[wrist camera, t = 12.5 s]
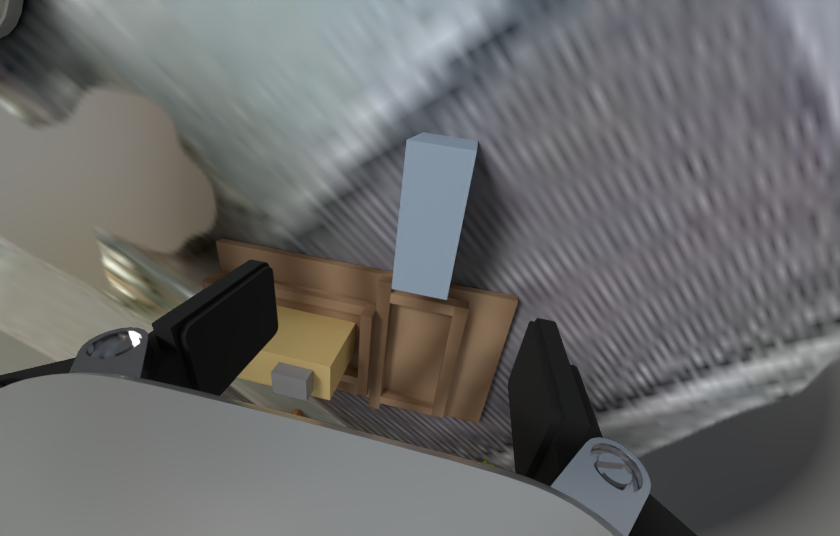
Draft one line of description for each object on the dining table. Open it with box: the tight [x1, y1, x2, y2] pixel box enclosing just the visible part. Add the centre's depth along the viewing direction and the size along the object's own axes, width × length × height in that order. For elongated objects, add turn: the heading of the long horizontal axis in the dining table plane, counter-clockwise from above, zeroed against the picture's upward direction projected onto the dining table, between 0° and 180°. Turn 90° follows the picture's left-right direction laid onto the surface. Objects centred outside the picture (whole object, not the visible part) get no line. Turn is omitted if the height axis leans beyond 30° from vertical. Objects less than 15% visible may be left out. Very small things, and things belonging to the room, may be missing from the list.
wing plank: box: [392, 132, 478, 300], centre depth 23 cm, size 4×10×6 cm, turn 172°
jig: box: [202, 238, 518, 423], centre depth 32 cm, size 28×16×3 cm, turn 82°
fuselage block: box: [237, 305, 356, 401], centre depth 30 cm, size 12×4×7 cm, turn 82°
